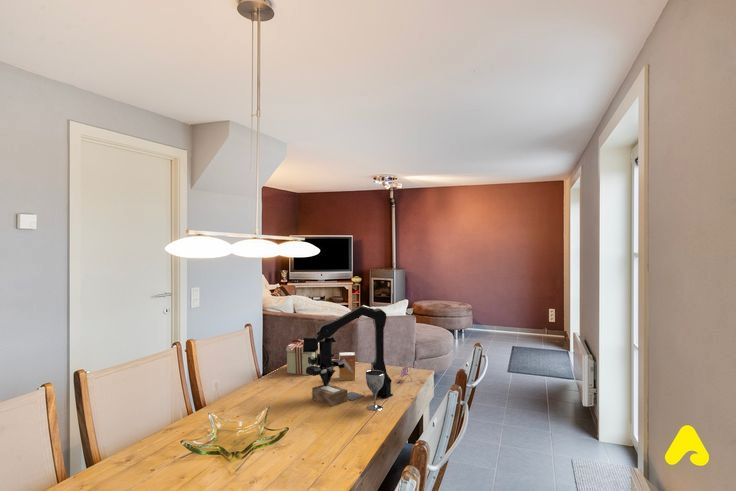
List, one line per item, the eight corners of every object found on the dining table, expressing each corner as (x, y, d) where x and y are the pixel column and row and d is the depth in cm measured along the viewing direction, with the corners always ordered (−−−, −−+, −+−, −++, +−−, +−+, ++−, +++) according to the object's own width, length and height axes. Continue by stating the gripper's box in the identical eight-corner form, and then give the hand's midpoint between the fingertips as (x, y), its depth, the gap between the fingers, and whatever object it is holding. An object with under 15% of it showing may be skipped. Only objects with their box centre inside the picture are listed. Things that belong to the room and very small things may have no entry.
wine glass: (387, 407, 181) (388, 372, 181) (375, 413, 175) (375, 376, 175) (374, 402, 186) (374, 368, 186) (361, 407, 180) (361, 372, 180)
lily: (404, 377, 226) (395, 362, 225) (423, 372, 220) (414, 356, 219) (396, 391, 215) (387, 375, 215) (416, 386, 209) (406, 369, 209)
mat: (364, 396, 194) (364, 395, 194) (352, 401, 188) (352, 400, 188) (352, 392, 200) (352, 391, 200) (339, 396, 194) (339, 395, 194)
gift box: (283, 375, 225) (283, 343, 225) (295, 366, 243) (295, 336, 243) (314, 377, 222) (314, 344, 222) (324, 367, 240) (324, 337, 240)
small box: (339, 380, 217) (339, 355, 217) (338, 377, 223) (338, 352, 223) (355, 380, 218) (355, 354, 218) (354, 376, 224) (354, 351, 224)
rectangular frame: (347, 401, 188) (347, 389, 188) (332, 406, 182) (332, 395, 182) (327, 393, 197) (327, 383, 197) (312, 399, 191) (312, 387, 191)
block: (340, 394, 188) (340, 390, 188) (333, 397, 185) (333, 392, 185) (326, 390, 194) (326, 385, 194) (319, 392, 191) (320, 387, 191)
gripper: (328, 345, 204) (328, 377, 204) (298, 352, 190) (297, 387, 190) (345, 349, 196) (345, 383, 196) (314, 356, 182) (314, 393, 182)
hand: (325, 386), depth 191 cm, fingers closed
